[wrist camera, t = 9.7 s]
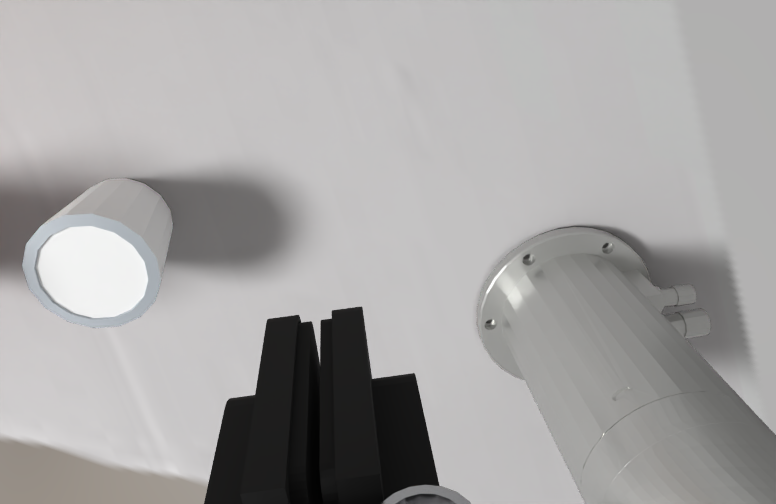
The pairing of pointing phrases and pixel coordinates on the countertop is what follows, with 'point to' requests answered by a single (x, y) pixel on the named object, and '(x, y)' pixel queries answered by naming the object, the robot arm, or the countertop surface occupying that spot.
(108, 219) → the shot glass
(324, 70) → the countertop surface
